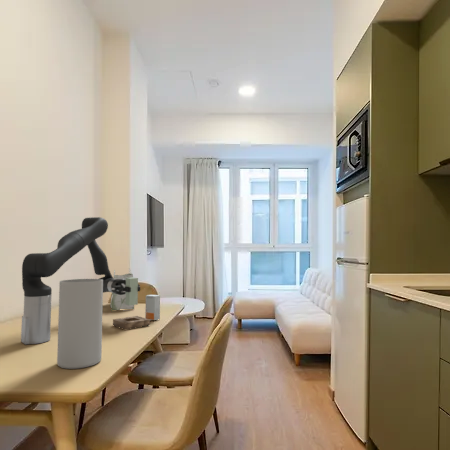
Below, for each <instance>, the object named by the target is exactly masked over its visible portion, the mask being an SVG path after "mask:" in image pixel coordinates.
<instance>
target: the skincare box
mask: <svg viewBox="0 0 450 450" xmlns="http://www.w3.org/2000/svg"><path fill="white" fill-rule="evenodd" d="M144 313H145V317H144V318H146V319H149V320H150V321H151V320H157V321H159V320H158V319H161V295H159V294H147V295H145V312H144Z"/></svg>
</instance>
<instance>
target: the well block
mask: <svg viewBox="0 0 450 450" xmlns="http://www.w3.org/2000/svg"><path fill="white" fill-rule="evenodd" d="M150 324H151V320H149V319H146V318H145V317H142V316H140V315H139V316H138V315H133V316H127V317H121V318H120V317H119V318H114V319H112V326H113V325H114V326H113V327H115V326H117V327H116V328H118V327H120V328H119V329H121V328H123V329H128V330H131V329H130V328H134V329H136V328H135V327H140V328H142V327H141V326H146V327H148V326H147V325H150ZM123 329H122V330H123Z"/></svg>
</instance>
